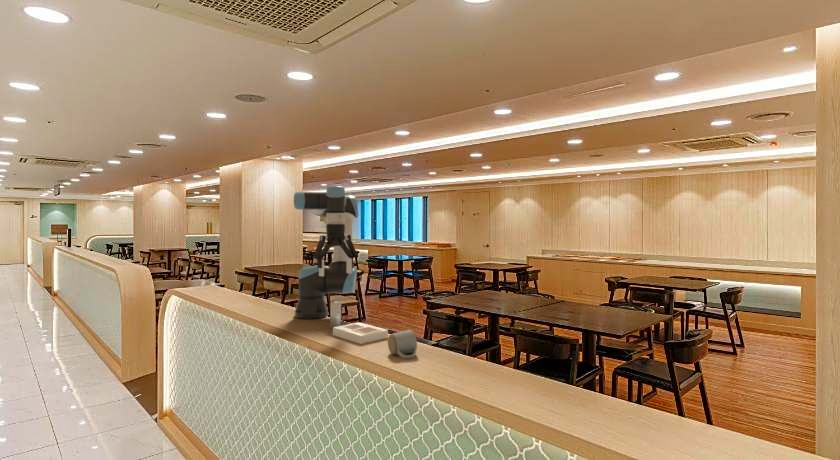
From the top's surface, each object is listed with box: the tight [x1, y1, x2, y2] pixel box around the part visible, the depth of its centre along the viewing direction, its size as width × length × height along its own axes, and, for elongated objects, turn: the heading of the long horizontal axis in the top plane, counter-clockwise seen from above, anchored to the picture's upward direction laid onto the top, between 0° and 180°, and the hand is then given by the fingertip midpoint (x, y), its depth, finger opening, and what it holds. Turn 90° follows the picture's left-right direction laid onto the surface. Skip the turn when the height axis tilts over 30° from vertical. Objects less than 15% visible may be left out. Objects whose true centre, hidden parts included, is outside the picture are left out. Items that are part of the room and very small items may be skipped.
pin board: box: [332, 322, 389, 345], centre depth 179 cm, size 18×13×3 cm
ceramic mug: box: [387, 329, 418, 360], centre depth 155 cm, size 11×8×8 cm
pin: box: [329, 300, 342, 330], centre depth 192 cm, size 4×4×11 cm
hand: (335, 274), depth 191 cm, fingers open, 13 cm apart
